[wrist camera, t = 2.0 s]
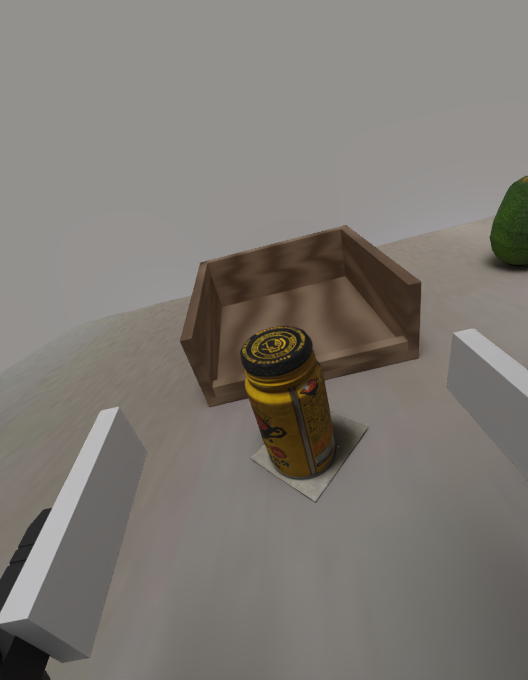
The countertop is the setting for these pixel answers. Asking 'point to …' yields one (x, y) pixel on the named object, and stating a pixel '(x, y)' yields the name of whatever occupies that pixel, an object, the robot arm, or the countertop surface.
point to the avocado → (512, 225)
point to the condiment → (295, 411)
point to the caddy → (302, 308)
